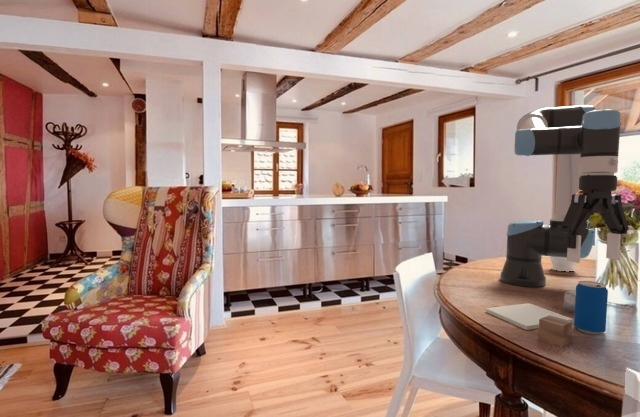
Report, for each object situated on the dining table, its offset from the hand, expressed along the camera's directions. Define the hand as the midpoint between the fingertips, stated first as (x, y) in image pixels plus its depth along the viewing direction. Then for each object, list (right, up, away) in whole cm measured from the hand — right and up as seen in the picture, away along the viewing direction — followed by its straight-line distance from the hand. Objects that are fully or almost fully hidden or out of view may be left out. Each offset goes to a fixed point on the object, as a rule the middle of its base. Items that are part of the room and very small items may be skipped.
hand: (593, 260), depth 92 cm
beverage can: (0, -18, +1) cm, 18 cm away
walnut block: (-13, -18, -5) cm, 23 cm away
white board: (-10, -17, +11) cm, 23 cm away
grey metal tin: (+7, -17, +16) cm, 24 cm away
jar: (+37, -14, +68) cm, 79 cm away
